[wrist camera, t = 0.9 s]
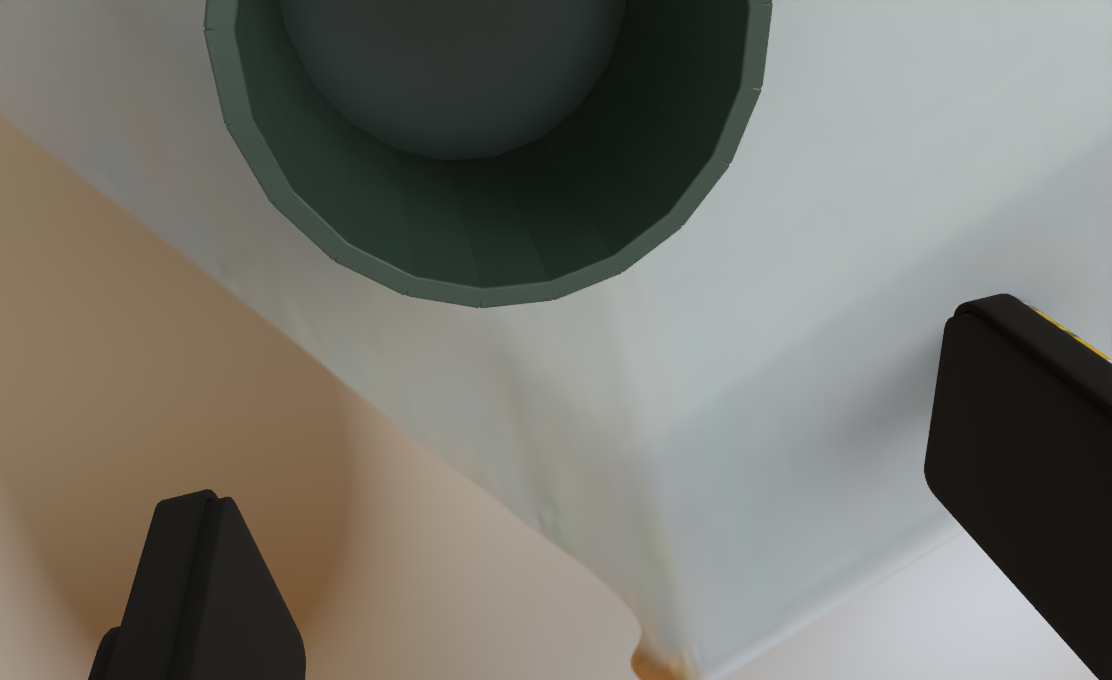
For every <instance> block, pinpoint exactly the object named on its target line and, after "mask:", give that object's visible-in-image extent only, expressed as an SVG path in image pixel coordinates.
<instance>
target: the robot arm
mask: <svg viewBox="0 0 1112 680" xmlns="http://www.w3.org/2000/svg"><path fill="white" fill-rule="evenodd" d="M924 473H925V478H926V481H927V484H928V486H929V488H930V490H931V491H932V493H933V494H934V495H935V497H936V498H937V499H938V500H939V501H940V502H941V503H942V504H943V506H944V507H945V508H946V509H947V510H948V511H949V512H950V513H951V514H952V516H953V517H954V518H955V519H956V520H957V521H958V522H959V523H960V525H961V526H962V527H963V528H964V529H965V530H966V531H967V532H968V534H969V535H970V536H971V537H972V538H973V539H974V540H975V541H976V543H977V544H978V545H979V546H980V547H981V548H982V549H983V550H984V551H985V553H987V555H988V556H989V557H990V558H991V559H992V560H993V562H994V563H995V564H996V565H997V566H998V567H999V568H1000V569H1001V571H1002V572H1003V573H1004V574H1005V575H1006V576H1007V577H1008V578H1009V580H1010V581H1011V582H1012V583H1013V584H1014V585H1015V586H1016V587H1017V589H1018V590H1019V591H1020V592H1021V593H1022V594H1023V595H1024V596H1025V597H1026V598H1027V600H1028V601H1029V602H1030V603H1031V604H1032V605H1033V606H1034V607H1035V609H1036V610H1037V611H1038V612H1039V613H1040V614H1041V615H1042V617H1043V618H1044V619H1045V620H1046V621H1047V622H1048V623H1049V624H1050V626H1051V627H1052V628H1053V629H1054V630H1055V631H1056V632H1057V633H1058V635H1059V636H1060V637H1061V638H1062V639H1063V640H1064V641H1065V642H1066V643H1067V645H1068V646H1069V647H1070V648H1071V649H1072V650H1073V651H1074V652H1075V653H1076V654H1077V656H1078V657H1079V658H1080V659H1081V660H1082V661H1083V663H1084V664H1085V665H1086V666H1087V667H1088V668H1089V669H1090V670H1091V671H1092V673H1093V674H1094V675H1095V676H1096V677H1097V678H1098V679H1099V680H1112V363H1110V362H1109V361H1107V360H1106V359H1104V358H1103V357H1102V356H1100V355H1099V354H1097V353H1096V352H1094V351H1093V350H1091V349H1090V348H1088V347H1087V346H1085V345H1084V344H1083V343H1081V342H1080V341H1078V340H1077V339H1075V338H1074V337H1072V336H1071V335H1069V334H1068V333H1067V332H1065V331H1064V330H1062V329H1061V328H1059V327H1058V326H1056V325H1055V324H1053V323H1052V322H1051V321H1049V320H1048V319H1046V318H1045V317H1043V316H1042V315H1040V314H1039V313H1037V312H1036V311H1035V310H1033V309H1032V308H1030V307H1029V306H1027V305H1026V304H1024V303H1023V302H1021V301H1020V300H1019V299H1017V298H1016V297H1014V296H1012V295H1009V294H998V295H994V296H990V297H985V298H981V299H977V300H973V301H969V302H965V303H963V304H961V305H959V306H958V308H957V309H956V310H955V313H954V316H953V317H951V318H949V319H948V321H947V322H946V324H945V328H944V334H943V341H942V348H941V355H940V362H939V368H938V375H937V382H936V389H935V396H934V403H933V409H932V416H931V423H930V430H929V437H928V444H927V451H926V457H925V464H924ZM305 669H306V657H305V649H304V644H303V640H302V637H301V635H300V632H299V630H298V629H297V626H296V624H295V622H294V620H293V618H292V616H291V615H290V612H289V610H288V608H287V606H286V604H285V602H284V600H283V598H282V596H281V594H280V592H279V590H278V588H277V586H276V584H275V582H274V580H273V578H272V576H271V574H270V572H269V570H268V568H267V566H266V564H265V562H264V560H263V557H262V555H261V553H260V551H259V549H258V547H257V545H256V543H255V541H254V539H253V538H252V535H251V533H250V531H249V529H248V527H247V525H246V523H245V521H244V519H243V517H242V515H241V513H240V511H239V509H238V507H237V505H236V503H235V502H234V500H233V499H232V498H231V497H224V498H220V499H219V498H218V497H217V495H216V494H215V493H214V492H213V491H212V490H208V489H206V490H202V491H198V492H194V493H191V494H186V495H182V496H178V497H174V498H170V499H166V500H162V501H160V502H159V503H158V504H157V506H156V508H155V511H154V514H153V518H152V521H151V524H150V528H149V531H148V534H147V538H146V541H145V545H144V548H143V551H142V555H141V559H140V562H139V565H138V569H137V572H136V575H135V579H134V582H133V586H132V589H131V593H130V596H129V599H128V603H127V606H126V609H125V613H124V616H123V620H122V623H121V626H119V627H115V628H112V629H110V630H109V631H108V632H107V633H106V634H105V635H104V637H103V638H102V641H101V643H100V645H99V647H98V650H97V653H96V656H95V660H94V662H93V666H92V669H91V672H90V675H89V678H88V680H305V671H306V670H305Z"/></svg>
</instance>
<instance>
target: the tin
mask: <svg viewBox="0 0 1112 680" xmlns="http://www.w3.org/2000/svg"><path fill="white" fill-rule="evenodd" d="M771 1H772V0H206V7H205V18H204V27H205V29H204V35H205V39H206V44H207V48H208V52H209V57H210V61H211V66H212V70H213V74H214V79H215V83H216V88H217V92H218V96H219V101H220V105H221V110H222V114H223V118H224V123H225V124H226V127H227V129H228V131H229V132H230V134H231V136H232V138H233V139H234V141H235V143H236V144H237V146H238V148H239V150H240V151H241V153H242V155H243V156H244V158H245V160H246V161H247V163H248V165H249V167H250V168H251V170H252V172H253V173H254V175H255V177H256V179H257V180H258V182H259V184H260V185H261V187H262V189H263V191H264V192H265V194H266V196H267V197H268V199H269V201H270V202H271V203H272V204H273V206H275V207H276V208H277V209H278V210H279V211H280V212H281V213H282V214H283V215H284V216H285V217H286V218H288V219H289V220H290V221H291V222H292V223H293V224H294V225H295V226H296V227H297V228H298V229H299V230H301V231H302V232H303V233H304V234H305V235H306V236H307V237H308V238H309V239H310V240H311V241H313V242H314V243H315V244H316V245H317V246H318V247H319V248H320V249H321V250H322V251H323V252H324V253H326V254H327V255H328V256H329V257H330V258H331V259H332V260H335V262H337V263H339V264H341V265H343V266H345V267H347V268H349V269H351V270H353V271H355V272H357V273H359V274H361V275H363V276H365V277H368V278H370V279H372V280H374V281H376V282H378V283H380V284H382V285H384V286H386V287H388V288H390V289H392V290H394V291H396V292H398V293H400V294H402V295H405V294H406V295H407V296H410V297H416V298H422V299H428V300H434V301H440V302H446V303H451V304H457V305H463V306H469V307H475V308H479V307H481V308H488V307H497V306H506V305H515V304H524V303H533V302H542V301H551V300H553V299H554V300H556V299H559V298H561V297H564V296H566V295H569V294H571V293H574V292H576V291H579V290H581V289H583V288H586V287H588V286H591V285H593V284H596V283H598V282H601V281H603V280H606V279H608V278H611V277H613V276H616V275H618V274H621V273H622V272H624V271H625V270H627V269H628V268H629V267H630V266H632V265H633V264H634V263H636V262H637V261H638V260H640V259H641V258H642V257H644V256H645V255H646V254H648V253H649V252H650V251H652V250H653V249H654V248H656V247H657V246H658V245H659V244H661V243H662V242H663V241H665V240H666V239H667V238H669V237H670V236H671V235H673V234H674V233H675V232H677V231H678V230H679V229H681V225H682V226H683V225H684V224H685V223H686V222H687V220H688V219H689V218H690V216H691V215H692V214H693V212H694V211H695V210H696V209H697V207H698V206H699V205H700V203H701V202H702V201H703V200H704V198H705V197H706V196H707V194H708V193H709V192H710V191H711V189H712V188H713V187H714V185H715V184H716V183H717V181H718V180H719V179H720V178H721V176H722V175H723V174H724V172H725V171H726V170H727V169H728V167H729V164H730V163H731V162H732V160H733V157H734V155H735V152H736V150H737V148H738V145H739V143H740V140H741V138H742V136H743V133H744V131H745V128H746V126H747V124H748V121H749V119H750V116H751V114H752V112H753V109H754V107H755V104H756V102H757V100H758V97H759V95H760V92H761V89H760V88H761V87H762V85H763V77H764V69H765V61H766V53H767V45H768V37H769V29H770V21H771V13H772V2H771Z"/></svg>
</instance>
